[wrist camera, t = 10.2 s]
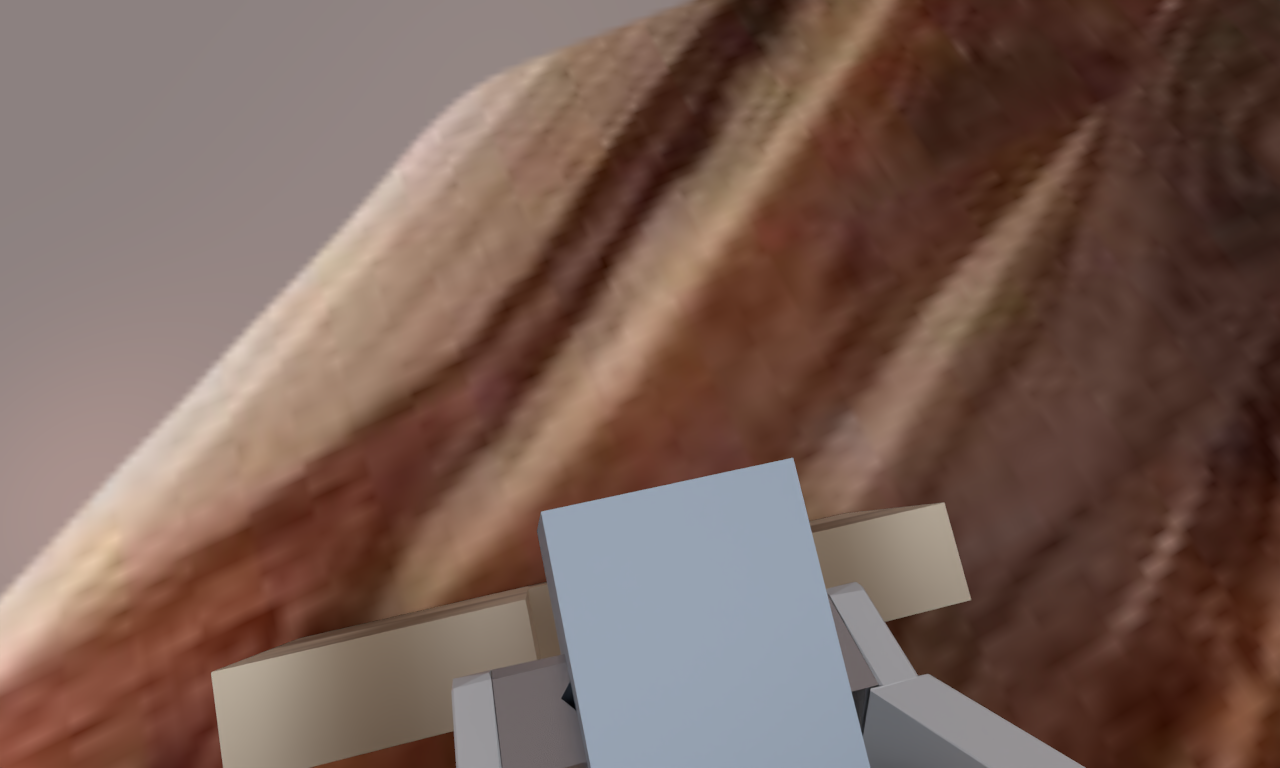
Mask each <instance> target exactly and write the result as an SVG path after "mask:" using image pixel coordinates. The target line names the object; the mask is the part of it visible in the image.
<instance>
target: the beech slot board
mask: <svg viewBox="0 0 1280 768" xmlns="http://www.w3.org/2000/svg"><path fill="white" fill-rule="evenodd" d="M809 523H810V527H811V531H812V535H813V539H814V543H815V547H816V551H817V555H818V559H819V564H820V568H821V572H822V576H823V580H824V584H825V588H826V589H828V588H831V587H835V586H839V585H843V584H847V583H851V582H857V583H858V584H860V585H861V586H862V587H863V588H864V589H865V591H866V593H867V594H868V596H869V597H870V599H871V601H872V602H873V604H874V605H875V607H876V609H877V610H878V612H879V614H880V615H881V617H882V618H883V620H884V622H886V621H890V620H894V619H898V618H902V617H906V616H910V615H914V614H918V613H922V612H926V611H930V610H934V609H938V608H942V607H946V606H949V605H953V604H957V603H961V602H965V601H969V600H971V597H970V593H969V590H968V586H967V583H966V579H965V575H964V572H963V568H962V565H961V561H960V557H959V554H958V550H957V547H956V543H955V539H954V536H953V532H952V528H951V525H950V521H949V518H948V514H947V510H946V507H945V503H935V504H926V505H917V506H908V507H898V508H889V509H880V510H871V511H862V512H852V513H845V514H840V515H836V516H831V517H827V518H823V519H818V520H814V521H810V522H809ZM557 655H561V652H560V647H559V642H558V637H557V631H556V626H555V621H554V616H553V611H552V606H551V600H550V595H549V590H548V585H547V582H543V583H539V584H535V585H530V586H526V587H521V588H517V589H513V590H508V591H504V592H500V593H495V594H491V595H487V596H482V597H478V598H473V599H469V600H465V601H460V602H456V603H452V604H447V605H443V606H439V607H434V608H430V609H425V610H421V611H417V612H412V613H408V614H404V615H399V616H395V617H390V618H386V619H382V620H377V621H373V622H369V623H364V624H360V625H356V626H351V627H347V628H342V629H338V630H334V631H329V632H325V633H321V634H316V635H312V636H308V637H303V638H299V639H296V640H293V641H291V642H288V643H286V644H283V645H281V646H278V647H275V648H273V649H270V650H268V651H265V652H262V653H260V654H257V655H255V656H252V657H249V658H247V659H244V660H242V661H239V662H236V663H234V664H231V665H229V666H226V667H223V668H221V669H218V670H216V671H213V672H211V676H212V684H213V692H214V700H215V708H216V715H217V723H218V731H219V739H220V747H221V755H222V763H223V768H310V767H314V766H318V765H322V764H326V763H329V762H333V761H337V760H341V759H345V758H349V757H353V756H357V755H361V754H365V753H369V752H373V751H377V750H381V749H385V748H389V747H393V746H397V745H401V744H405V743H408V742H412V741H416V740H420V739H424V738H428V737H432V736H436V735H440V734H444V733H448V732H452V731H454V726H453V710H452V695H451V690H452V682H453V679H454V678H459V677H463V676H467V675H471V674H475V673H480V672H484V671H488V670H493V669H498V668H502V667H507V666H511V665H516V664H521V663H525V662H530V661H534V660H539V659H544V658H548V657H553V656H557Z"/></svg>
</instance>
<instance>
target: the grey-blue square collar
mask: <svg viewBox="0 0 1280 768" xmlns="http://www.w3.org/2000/svg"><path fill="white" fill-rule="evenodd" d="M537 533H538V539H539V544H540V549H541V554H542V559H543V564H544V570H545V575H546V580H547V585H548V590H549V595H550V600H551V606H552V611H553V616H554V621H555V626H556V631H557V637H558V642H559V647H560V652H561V655H562V654H565V658H566V662H567V667H568V672H569V677H570V682H571V687H572V693H573V698H574V704H575V709H576V711H577V715H578V720H579V725H580V730H581V735H582V740H583V744H584V749H585V754H586V759H587V764H588V768H870V764H869V760H868V756H867V752H866V748H865V744H864V740H863V736H862V732H861V728H860V724H859V720H858V716H857V712H856V708H855V704H854V700H853V696H852V692H851V688H850V684H849V680H848V676H847V672H846V668H845V664H844V660H843V656H842V652H841V648H840V644H839V640H838V636H837V632H836V628H835V624H834V620H833V616H832V612H831V608H830V604H829V600H828V596H827V592H826V588H825V584H824V580H823V576H822V572H821V568H820V564H819V559H818V555H817V551H816V547H815V543H814V539H813V535H812V531H811V527H810V523H809V519H808V515H807V511H806V507H805V503H804V499H803V495H802V491H801V487H800V483H799V479H798V475H797V471H796V467H795V463H794V459H793V458H790V459H785V460H780V461H776V462H771V463H766V464H762V465H757V466H752V467H748V468H743V469H738V470H734V471H729V472H724V473H720V474H715V475H710V476H706V477H701V478H696V479H692V480H687V481H682V482H678V483H673V484H668V485H664V486H659V487H654V488H650V489H645V490H640V491H636V492H631V493H626V494H622V495H617V496H612V497H608V498H603V499H598V500H594V501H589V502H584V503H580V504H575V505H570V506H566V507H561V508H556V509H552V510H547V511H542V512H541V514H540V519H539V524H538V529H537Z"/></svg>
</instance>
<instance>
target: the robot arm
mask: <svg viewBox="0 0 1280 768" xmlns="http://www.w3.org/2000/svg"><path fill="white" fill-rule="evenodd" d="M826 592H827V596H828V600H829V604H830V608H831V612H832V616H833V620H834V624H835V628H836V632H837V636H838V640H839V644H840V648H841V652H842V656H843V660H844V664H845V668H846V672H847V676H848V680H849V684H850V688H851V692H852V696H853V700H854V704H855V708H856V712H857V716H858V720H859V724H860V728H861V732H862V736H863V740H864V744H865V748H866V752H867V756H868V760H869V764H870V768H1085V767H1084V766H1082V765H1080V764H1078V763H1077V762H1075V761H1073V760H1072V759H1070V758H1068V757H1067V756H1065V755H1063V754H1062V753H1060V752H1058V751H1057V750H1055V749H1053V748H1052V747H1050V746H1048V745H1047V744H1045V743H1043V742H1042V741H1040V740H1038V739H1037V738H1035V737H1033V736H1032V735H1030V734H1028V733H1027V732H1025V731H1023V730H1022V729H1020V728H1018V727H1017V726H1015V725H1013V724H1012V723H1010V722H1008V721H1007V720H1005V719H1003V718H1002V717H1000V716H998V715H997V714H995V713H993V712H992V711H990V710H988V709H987V708H985V707H983V706H982V705H980V704H978V703H977V702H975V701H973V700H972V699H970V698H968V697H967V696H965V695H963V694H962V693H960V692H958V691H957V690H955V689H953V688H952V687H950V686H948V685H947V684H945V683H943V682H942V681H940V680H938V679H937V678H935V677H933V676H932V675H930V674H924V675H920V676H918V675H917V673H916V671H915V670H914V668H913V666H912V665H911V663H910V662H909V660H908V658H907V657H906V655H905V654H904V652H903V650H902V649H901V647H900V646H899V644H898V642H897V641H896V639H895V638H894V636H893V634H892V633H891V631H890V630H889V628H888V626H887V625H886V623H885V622H884V620H883V618H882V617H881V615H880V614H879V612H878V610H877V609H876V607H875V605H874V604H873V602H872V601H871V599H870V597H869V596H868V594H867V593H866V591H865V589H864V588H863V587H862V586H861V585H860V584H858V583H857V582H851V583H847V584H843V585H839V586H835V587H831V588H828V589H826ZM451 695H452V710H453V726H454V741H455V757H456V768H588V764H587V759H586V754H585V749H584V744H583V740H582V735H581V730H580V725H579V720H578V715H577V711H576V709H575V704H574V698H573V693H572V687H571V682H570V677H569V672H568V667H567V662H566V658H565V654H562V655H557V656H553V657H548V658H544V659H539V660H534V661H530V662H525V663H521V664H516V665H511V666H507V667H502V668H498V669H493V670H488V671H484V672H480V673H475V674H471V675H467V676H463V677H459V678H454V679H453V682H452V690H451Z"/></svg>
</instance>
